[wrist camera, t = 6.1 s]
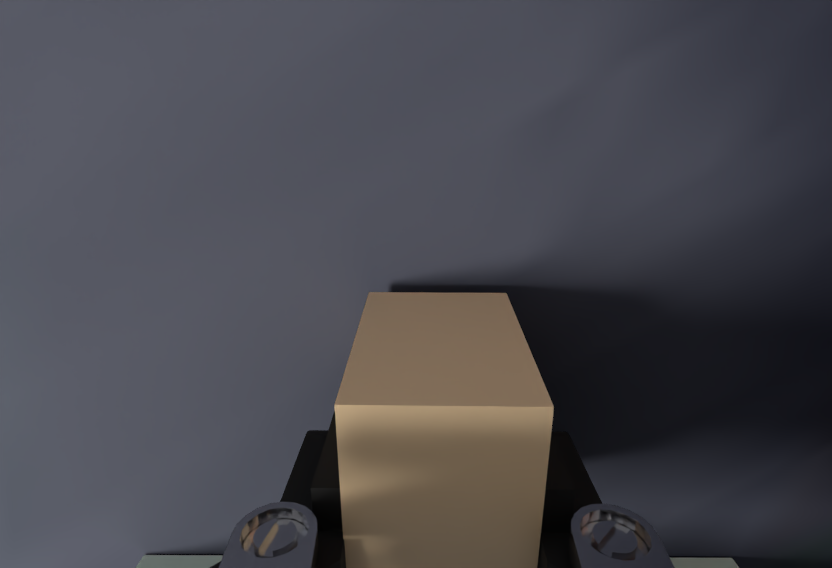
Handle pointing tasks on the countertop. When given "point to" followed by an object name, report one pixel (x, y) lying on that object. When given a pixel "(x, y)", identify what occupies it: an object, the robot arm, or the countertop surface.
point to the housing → (200, 564)
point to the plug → (442, 435)
